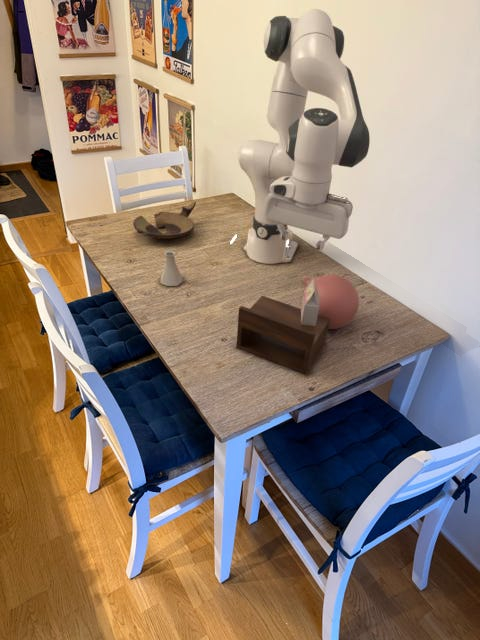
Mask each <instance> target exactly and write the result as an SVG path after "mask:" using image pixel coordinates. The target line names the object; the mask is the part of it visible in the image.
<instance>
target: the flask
mask: <svg viewBox="0 0 480 640" xmlns="http://www.w3.org/2000/svg"><path fill="white" fill-rule="evenodd" d="M175 256H176V252H174V251H171V250H170V251H169V250H168V251H166V252H165V253H164V257H166V259H165V265H164V267H163V271H162V274H161V277H160V284H161V285H164V286H167V287H177V286H179V285H180V284H181V283H183V276H182V274H181V272H180V270H179V268H178V265H177V263H176V259H175Z"/></svg>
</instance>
